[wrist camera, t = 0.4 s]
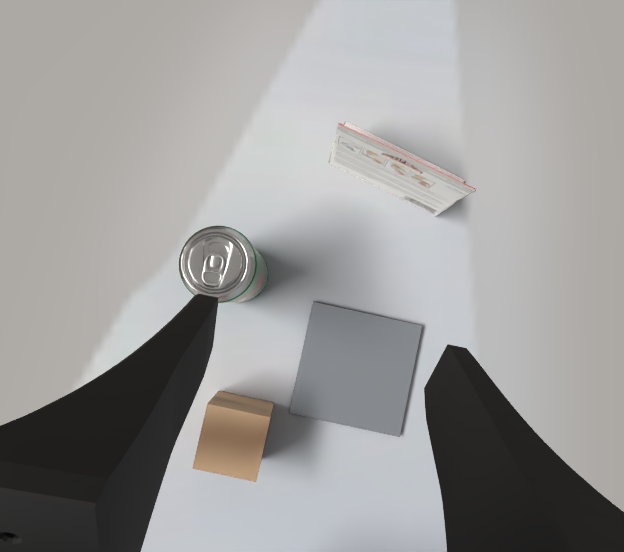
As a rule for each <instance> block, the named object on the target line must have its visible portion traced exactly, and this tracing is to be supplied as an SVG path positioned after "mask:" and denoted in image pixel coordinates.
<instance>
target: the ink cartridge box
mask: <svg viewBox="0 0 624 552" xmlns="http://www.w3.org/2000/svg"><path fill="white" fill-rule="evenodd" d="M329 164H330V165H333V166H335V167H337V168H339V169H341V170H343V171H345V172H347V173H349V174H351V175H353V176H355V177H357V178H359V179H361V180H363V181H365V182H367V183H369V184H371V185H373V186H375V187H377V188H379V189H381V190H383V191H386V192H388V193H390V194H392V195H394V196H396V197H398V198H400V199H402V200H404V201H406V202H408V203H410V204H412V205H414V206H416V207H418V208H420V209H422V210H424V211H426V212H428V213H430V214H432V215H433V216H437V215H439V214H440V213H442V212H443V211H445V210H446V209H448V208H449V207H450V206H452V205H453V204H455V203H456V201H458V200H459V199H462V198H463V197H465V196H467V195H469V194H470V193H472V192H474V191H476V189H475V188H472V187H470V186H468V185H466V184H465V180H464V179H462V178H460V177H458V176H456V175H454V174H452V173H450V172H448V171H446V170H444V169H442V168H440V167H438V166H436V165H434V164H432V163H430V162H428V161H426V160H424V159H422V158H420V157H418V156H416V155H414V154H412V153H410V152H408V151H406V150H404V149H402V148H399V147H397V146H395V145H393V144H391V143H389V142H387V141H385V140H383V139H381V138H379V137H377V136H375V135H373V134H371V133H369V132H367V131H365V130H363V129H361V128H359V127H357V126H355V125H353V124H351V123H349V122H347V121H345V122H344V123H343V125H342V124H340V123H338V128H337V134H336V138H335V140H334V142H333V145H332V150H331V154H330V158H329Z"/></svg>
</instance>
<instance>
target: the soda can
mask: <svg viewBox="0 0 624 552" xmlns="http://www.w3.org/2000/svg"><path fill="white" fill-rule="evenodd" d="M179 271H180V275H181V278H182V281H183V283H184V284H185V286H186V287H187V289H188V290H189V291H190V292H191V293H192V294H193V295H197V294H203V295H208V296H213V297H218V298H219V299H218V303H233V302H245V301H249V300H251V299H253V298H254V297H256V296H257V295H258V294H259V293H260V292H261V291H262V290H263V288H264V286H265V284H266V281H267V274H268V273H267V266H266V263H265V261H264V259H263V258H262V256H261V255H260V254H259V253H258V251H257V250H256V249H255V248H254V246H253V245H252V244H251V243H250V241H249V240H248V239H247V238H246V237H245V236H244V235H243V234H242V233H240V232H238V231H237V230H235V229H232V228H230V227H225V226H211V227H207V228H204V229H202V230H200V231H198V232H196V233H195V234H194V235H192V236H191V237H190V238H189V239H188V241H187V242H186V243H185V245H184V247H183V249H182V251H181V254H180V258H179Z"/></svg>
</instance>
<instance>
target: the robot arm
mask: <svg viewBox="0 0 624 552" xmlns="http://www.w3.org/2000/svg"><path fill="white" fill-rule="evenodd" d="M218 299H219V298H218V297H213V296H208V295H203V294H197V295H195V296H194V297H193V298H192V299H191V300H190V301H189V303H188V304H187V305H186V306H185V307H184V308H183V309H182V310H181V311H180V312H179V313H178V314H177V315H176V316H175V317H174V318H173V319H172V320H171V321H170V322H169V323H167V324H166V325H165V326H164V327H163V328H162V329H161V330H160V331H159V332H158V333H156V334H155V335H154V336H153V337H152V338H151V339H149V340H148V341H147V342H146V343H144V344H143V345H142V346H141V347H139V348H138V349H137V350H136V351H134V352H133V353H132V354H131V355H129V356H128V357H127V358H125V359H124V360H122V361H121V362H120V363H118V364H117V365H115V366H114V367H112V368H111V369H109V370H108V371H106V372H105V373H103V374H102V375H100V376H99V377H97V378H95V379H94V380H92V381H90V382H89V383H87V384H85V385H84V386H82V387H80V388H79V389H77V390H75V391H73V392H72V393H70V394H68V395H66V396H64V397H62V398H60V399H58V400H56V401H54V402H52V403H50V404H48V405H46V406H44V407H42V408H40V409H38V410H36V411H34V412H32V413H30V414H28V415H26V416H23V417H21V418H19V419H16V420H14V421H11V422H9V423H6V424H4V425H1V426H0V552H140V551H141V548H142V545H143V542H144V538H145V535H146V532H147V528H148V525H149V522H150V518H151V515H152V512H153V509H154V506H155V502H156V499H157V496H158V493H159V490H160V486H161V483H162V480H163V477H164V474H165V471H166V468H167V465H168V462H169V459H170V455H171V453H172V450H173V447H174V445H175V442H176V440H177V437H178V435H179V433H180V430H181V428H182V426H183V424H184V421H185V419H186V417H187V414H188V412H189V410H190V407H191V405H192V403H193V400H194V398H195V396H196V393H197V391H198V389H199V386H200V384H201V382H202V379H203V377H204V374H205V371H206V367H207V364H208V361H209V357H210V354H211V351H212V347H213V340H214V332H215V323H216V315H217V307H218ZM424 392H425V409H426V420H427V425H428V430H429V435H430V440H431V445H432V450H433V455H434V460H435V464H436V469H437V474H438V479H439V484H440V489H441V495H442V501H443V510H444V520H445V530H446V541H447V552H624V512H623V511H621V510H620V509H619V508H618V507H616V506H615V505H614V504H612V503H611V502H610V501H609V500H607V499H606V498H605V497H604V496H603V495H601V494H600V493H599V492H598V491H596V490H595V489H594V488H593V487H592V486H591V485H590V484H589V483H587V482H586V481H585V480H584V479H583V478H582V477H581V476H579V475H578V474H577V473H576V472H575V471H574V470H572V468H570V467H569V466H568V465H567V464H566V463H565V462H564V461H563V460H562V459H561V458H560V457H559V456H558V455H557V454H556V453H555V452H554V451H553V450H552V449H551V448H550V447H549V446H548V445H547V444H546V443H545V442H544V441H543V440H542V439H541V438H540V437H539V436H538V435H537V434H536V433H535V432H534V430H533V429H532V428H531V427H530V426H529V425H528V424H527V422H526V421H525V420H524V419H523V418H522V417H521V416H520V415H519V413H518V412H517V411H516V410H515V409H514V407H513V406H512V405H511V404H510V403H509V401H508V400H507V399H506V398H505V397H504V395H503V394H502V393H501V392H500V390H499V389H498V388H497V386H496V385H495V384H494V382H493V381H492V380H491V379H490V378H489V376H488V375H487V373H486V372H485V371H484V370H483V368H482V367H481V366H480V364H479V363H478V362H477V361H476V359H475V358H474V357H473V356H472V354H471V353H470V352H469V351H468V350H467V348H462V347H457V346H453V345H447V347H446V349H445V351H444V352H443V354H442V356H441V358H440V360H439V362H438V364H437V366H436V367H435V369H434V371H433V373H432V375H431V377H430V379H429V380H428V382H427V384H426V386H425V388H424Z"/></svg>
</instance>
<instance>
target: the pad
mask: <svg viewBox="0 0 624 552" xmlns="http://www.w3.org/2000/svg"><path fill="white" fill-rule="evenodd" d="M421 330H422V326H421V325H416V324H412V323H407V322H403V321H398V320H394V319H389V318H385V317H380V316H376V315H371V314H367V313H362V312H358V311H353V310H349V309H344V308H339V307H335V306H330V305H326V304H321V303H317V302H313V305H312V310H311V315H310V319H309V324H308V328H307V333H306V337H305V342H304V346H303V351H302V356H301V360H300V365H299V369H298V374H297V378H296V383H295V387H294V392H293V397H292V401H291V406H290V410H289V413H291V414H296V415H300V416H305V417H309V418H314V419H319V420H323V421H328V422H333V423H337V424H342V425H347V426H351V427H356V428H361V429H365V430H370V431H374V432H379V433H384V434H388V435H393V436H398V437H400V433H401V428H402V423H403V418H404V413H405V408H406V403H407V398H408V393H409V388H410V384H411V379H412V374H413V369H414V364H415V359H416V354H417V349H418V344H419V339H420V334H421Z"/></svg>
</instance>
